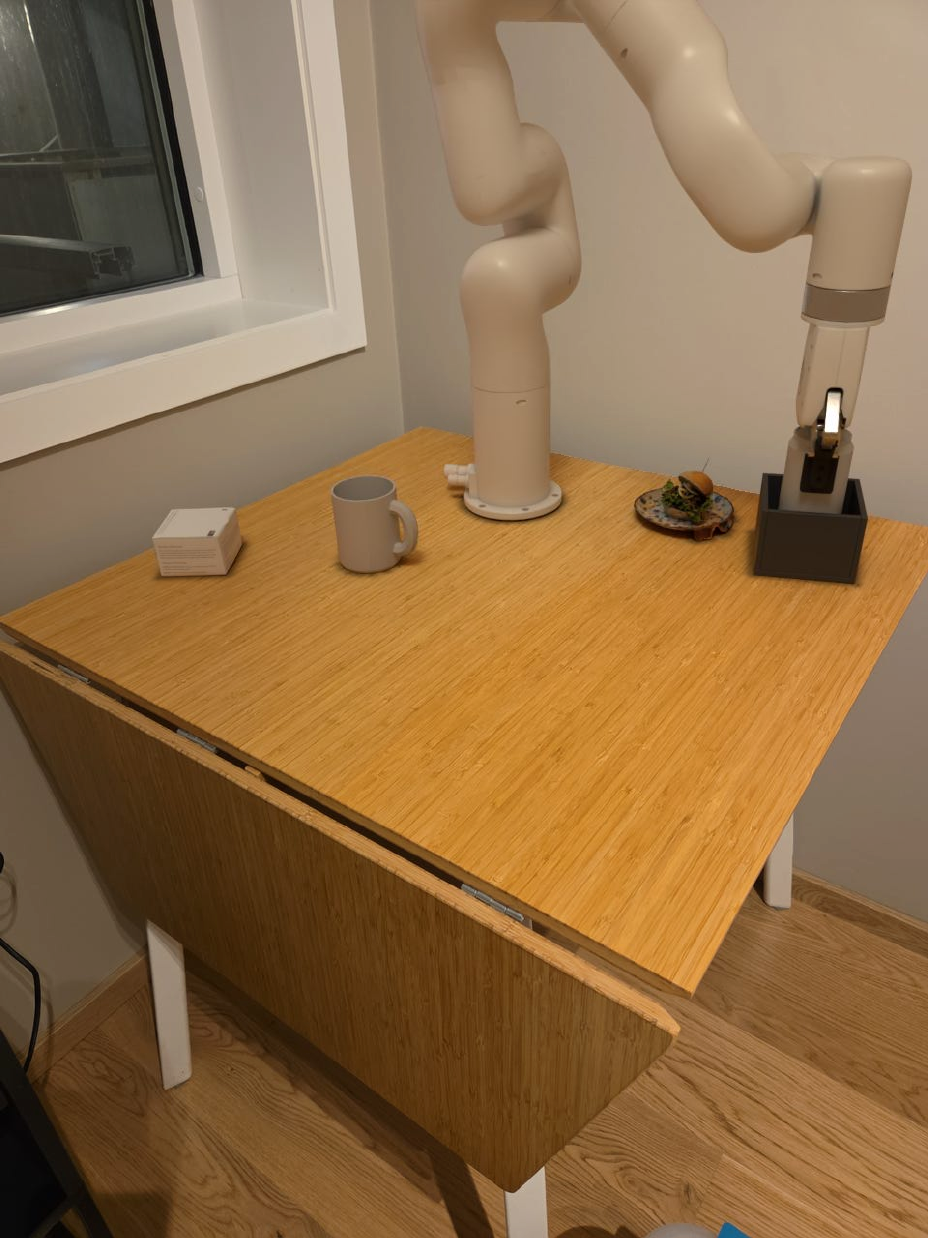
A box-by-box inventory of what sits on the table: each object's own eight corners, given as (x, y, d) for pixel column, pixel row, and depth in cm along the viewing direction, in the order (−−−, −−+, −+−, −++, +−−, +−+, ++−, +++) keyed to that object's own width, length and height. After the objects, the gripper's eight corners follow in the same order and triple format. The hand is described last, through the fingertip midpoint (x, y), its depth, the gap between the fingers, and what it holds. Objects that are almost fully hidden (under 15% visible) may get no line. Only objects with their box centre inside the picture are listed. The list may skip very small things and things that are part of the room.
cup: (359, 541, 108) (351, 471, 104) (434, 554, 105) (429, 483, 100) (328, 568, 103) (317, 496, 98) (405, 583, 99) (399, 509, 94)
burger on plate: (628, 499, 115) (631, 444, 111) (722, 497, 114) (728, 441, 110) (640, 543, 105) (644, 483, 101) (743, 540, 104) (751, 480, 100)
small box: (180, 546, 109) (171, 507, 107) (244, 544, 109) (236, 505, 106) (159, 577, 103) (149, 537, 100) (227, 576, 102) (219, 535, 100)
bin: (753, 574, 97) (762, 510, 93) (754, 533, 106) (762, 472, 102) (854, 584, 95) (868, 518, 91) (847, 540, 103) (859, 478, 99)
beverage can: (838, 529, 100) (859, 424, 94) (832, 554, 95) (853, 446, 89) (778, 520, 102) (795, 418, 96) (769, 544, 98) (786, 438, 91)
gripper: (800, 282, 94) (776, 446, 103) (806, 324, 80) (777, 510, 89) (878, 283, 92) (846, 450, 101) (898, 327, 78) (859, 516, 87)
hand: (814, 476), depth 95 cm, fingers closed on beverage can, 6 cm apart
